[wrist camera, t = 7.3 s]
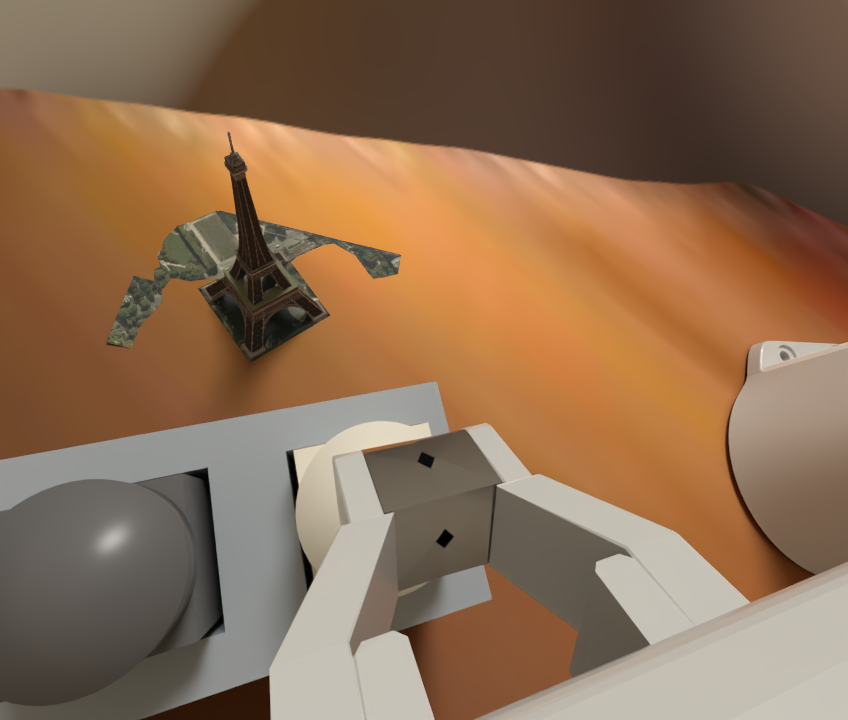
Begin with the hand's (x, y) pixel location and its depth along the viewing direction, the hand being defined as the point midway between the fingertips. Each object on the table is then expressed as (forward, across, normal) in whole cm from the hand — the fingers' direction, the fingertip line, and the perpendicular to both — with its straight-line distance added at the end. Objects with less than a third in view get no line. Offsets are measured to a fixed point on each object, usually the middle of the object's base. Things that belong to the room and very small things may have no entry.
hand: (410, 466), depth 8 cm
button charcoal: (+8, +7, +9) cm, 14 cm away
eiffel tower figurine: (+21, +2, +4) cm, 22 cm away
